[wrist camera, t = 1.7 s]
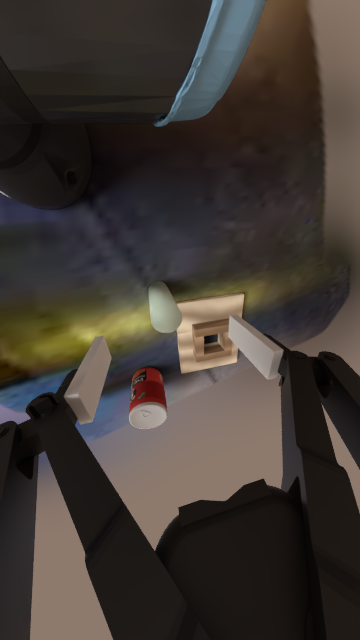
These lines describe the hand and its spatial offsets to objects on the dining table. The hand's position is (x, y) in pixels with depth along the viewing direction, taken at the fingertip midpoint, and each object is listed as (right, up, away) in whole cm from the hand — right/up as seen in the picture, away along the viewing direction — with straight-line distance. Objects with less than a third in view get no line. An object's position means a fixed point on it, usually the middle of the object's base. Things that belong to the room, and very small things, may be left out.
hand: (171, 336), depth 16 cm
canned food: (-8, -14, +25) cm, 30 cm away
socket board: (+8, -2, +23) cm, 25 cm away
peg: (-4, +8, +16) cm, 18 cm away
